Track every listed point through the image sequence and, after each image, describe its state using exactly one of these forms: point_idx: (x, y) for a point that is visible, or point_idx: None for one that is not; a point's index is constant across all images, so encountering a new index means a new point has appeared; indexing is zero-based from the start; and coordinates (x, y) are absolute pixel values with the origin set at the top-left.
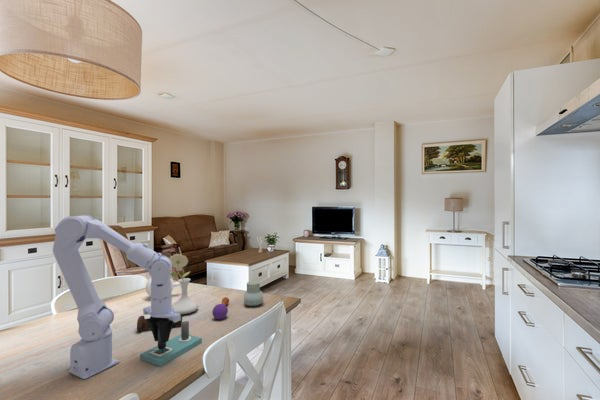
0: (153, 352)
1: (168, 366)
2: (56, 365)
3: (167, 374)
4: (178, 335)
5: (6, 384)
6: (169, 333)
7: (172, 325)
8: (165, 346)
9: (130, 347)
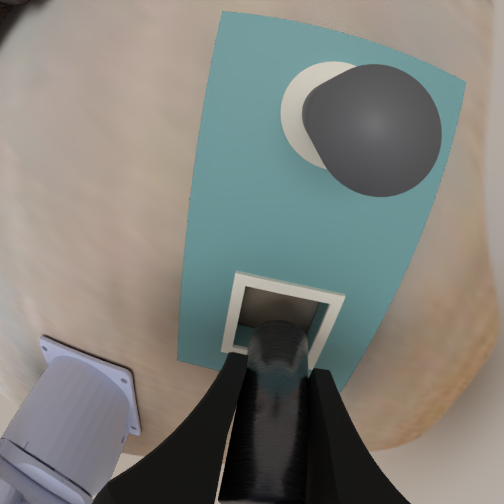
0: (233, 337)
1: (378, 363)
2: (12, 370)
3: (399, 395)
4: (219, 67)
5: None
6: (344, 420)
7: (383, 483)
8: (307, 347)
9: (41, 254)
